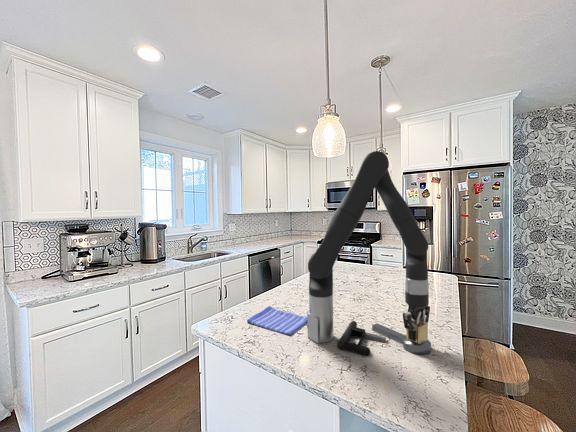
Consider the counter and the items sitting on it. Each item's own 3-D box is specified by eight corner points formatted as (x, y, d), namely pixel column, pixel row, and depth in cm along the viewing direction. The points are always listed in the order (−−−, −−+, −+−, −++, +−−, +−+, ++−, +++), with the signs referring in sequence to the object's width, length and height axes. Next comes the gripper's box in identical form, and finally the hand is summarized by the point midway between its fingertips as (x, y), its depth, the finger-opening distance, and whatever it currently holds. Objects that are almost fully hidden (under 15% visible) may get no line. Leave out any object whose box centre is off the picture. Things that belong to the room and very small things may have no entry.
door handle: (388, 328, 105) (348, 318, 113) (380, 354, 88) (333, 340, 95) (387, 336, 106) (347, 326, 113) (379, 364, 88) (333, 349, 95)
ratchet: (422, 358, 88) (422, 337, 88) (367, 332, 107) (367, 315, 107) (436, 349, 94) (436, 329, 93) (381, 326, 112) (381, 309, 112)
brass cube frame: (420, 344, 91) (419, 327, 91) (406, 338, 95) (406, 322, 95) (427, 339, 94) (427, 323, 94) (414, 334, 98) (414, 318, 98)
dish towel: (269, 310, 132) (268, 305, 132) (311, 321, 119) (310, 315, 119) (245, 323, 118) (245, 317, 118) (290, 337, 105) (290, 330, 105)
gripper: (417, 284, 101) (417, 328, 102) (395, 291, 93) (395, 339, 94) (437, 289, 95) (437, 335, 96) (415, 297, 87) (415, 348, 87)
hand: (416, 337), depth 95 cm, fingers closed on brass cube frame, 5 cm apart
